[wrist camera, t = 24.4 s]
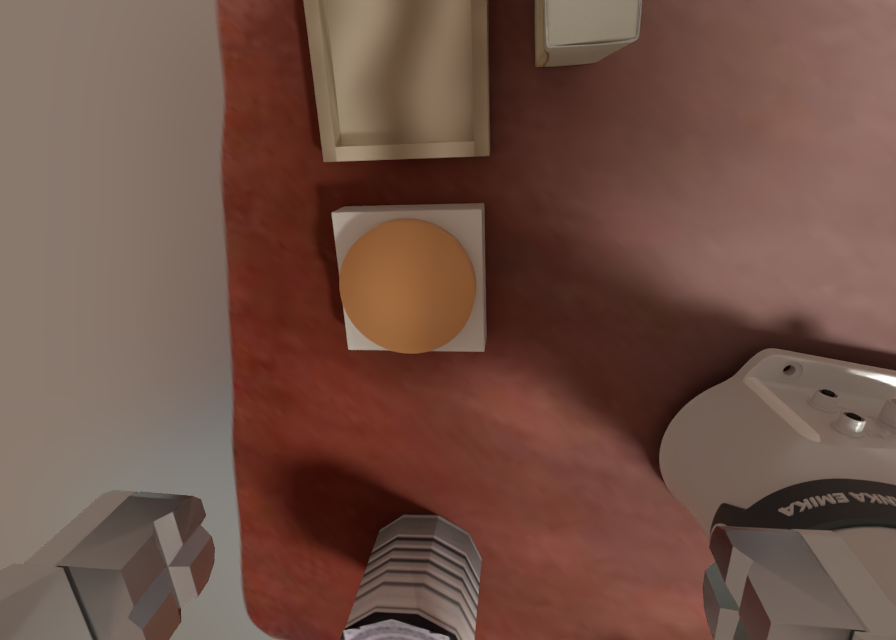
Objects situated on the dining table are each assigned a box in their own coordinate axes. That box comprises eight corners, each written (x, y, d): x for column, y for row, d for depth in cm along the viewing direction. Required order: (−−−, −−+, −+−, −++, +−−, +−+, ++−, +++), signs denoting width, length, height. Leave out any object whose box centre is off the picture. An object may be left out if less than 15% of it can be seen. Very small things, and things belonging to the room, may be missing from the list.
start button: (474, 216, 36) (472, 220, 35) (477, 346, 40) (476, 354, 38) (338, 219, 38) (331, 223, 36) (353, 344, 41) (347, 352, 40)
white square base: (484, 202, 39) (481, 209, 36) (486, 336, 43) (484, 351, 40) (344, 206, 40) (331, 212, 38) (359, 335, 44) (348, 349, 41)
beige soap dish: (487, -41, 33) (485, -50, 31) (490, 154, 37) (488, 155, 36) (311, -25, 35) (299, -33, 33) (332, 160, 39) (323, 162, 37)
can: (495, 529, 50) (487, 646, 39) (468, 609, 54) (454, 734, 43) (382, 498, 51) (343, 605, 39) (364, 580, 55) (325, 696, 44)
